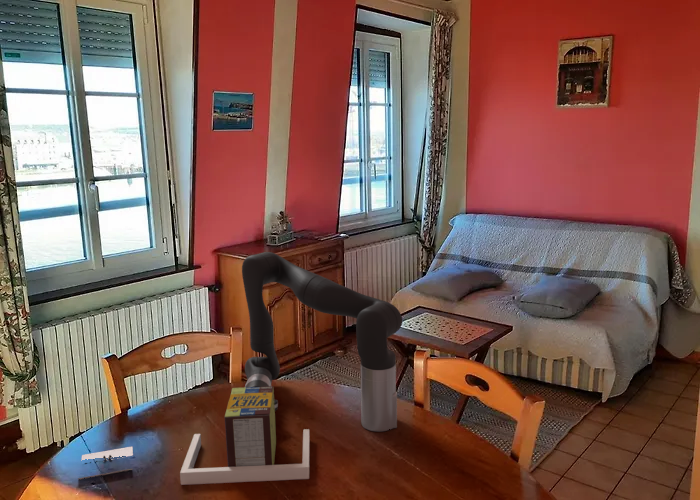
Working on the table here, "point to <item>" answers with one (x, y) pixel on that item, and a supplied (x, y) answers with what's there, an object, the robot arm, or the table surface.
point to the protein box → (250, 427)
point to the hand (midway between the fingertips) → (251, 421)
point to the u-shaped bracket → (242, 468)
